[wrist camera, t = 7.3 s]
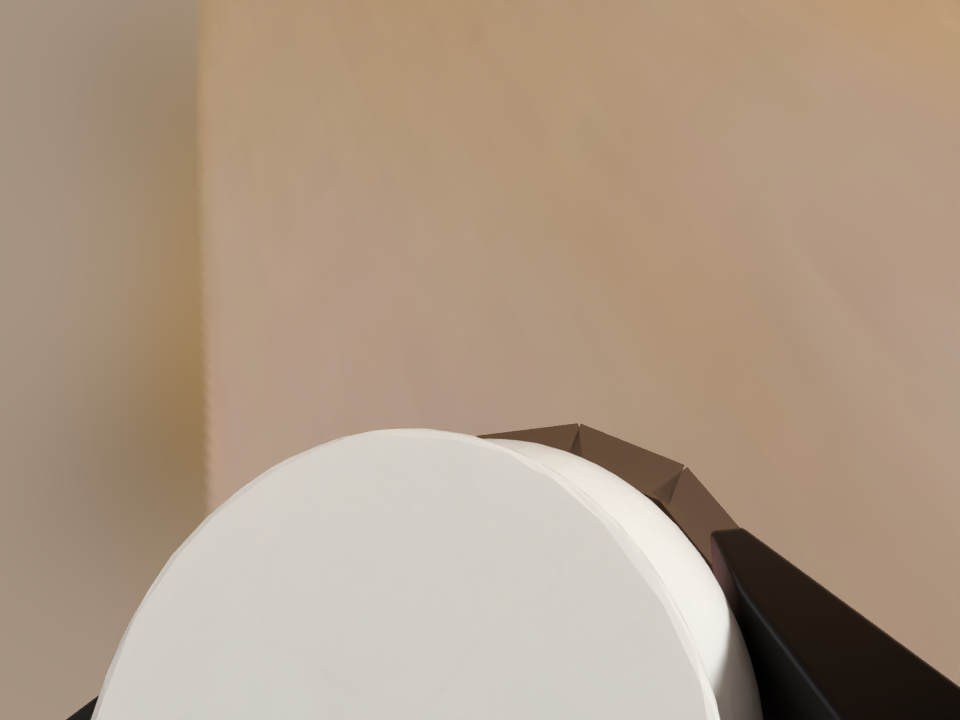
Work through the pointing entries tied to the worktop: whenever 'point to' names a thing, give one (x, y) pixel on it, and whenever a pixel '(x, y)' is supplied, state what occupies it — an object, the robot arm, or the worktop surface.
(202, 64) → the worktop surface
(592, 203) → the worktop surface
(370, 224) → the worktop surface
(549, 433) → the collar stand
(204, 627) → the pill bottle
